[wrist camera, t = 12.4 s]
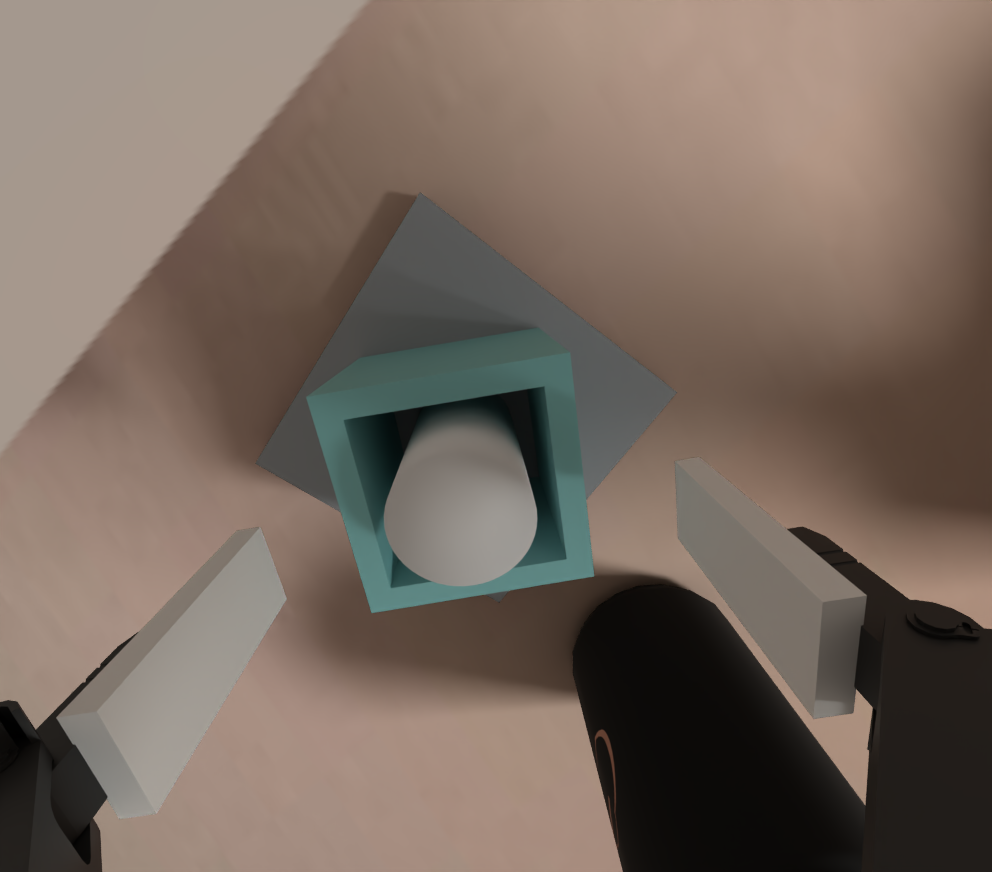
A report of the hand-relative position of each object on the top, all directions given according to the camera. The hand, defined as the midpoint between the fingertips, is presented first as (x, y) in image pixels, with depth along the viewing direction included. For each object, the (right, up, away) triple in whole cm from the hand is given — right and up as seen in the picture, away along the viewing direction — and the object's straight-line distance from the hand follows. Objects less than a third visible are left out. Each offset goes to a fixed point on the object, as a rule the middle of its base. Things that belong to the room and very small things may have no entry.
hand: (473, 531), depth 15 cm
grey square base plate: (-1, +4, +11) cm, 12 cm away
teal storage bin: (-1, +3, +10) cm, 11 cm away
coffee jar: (+11, -11, +17) cm, 23 cm away
